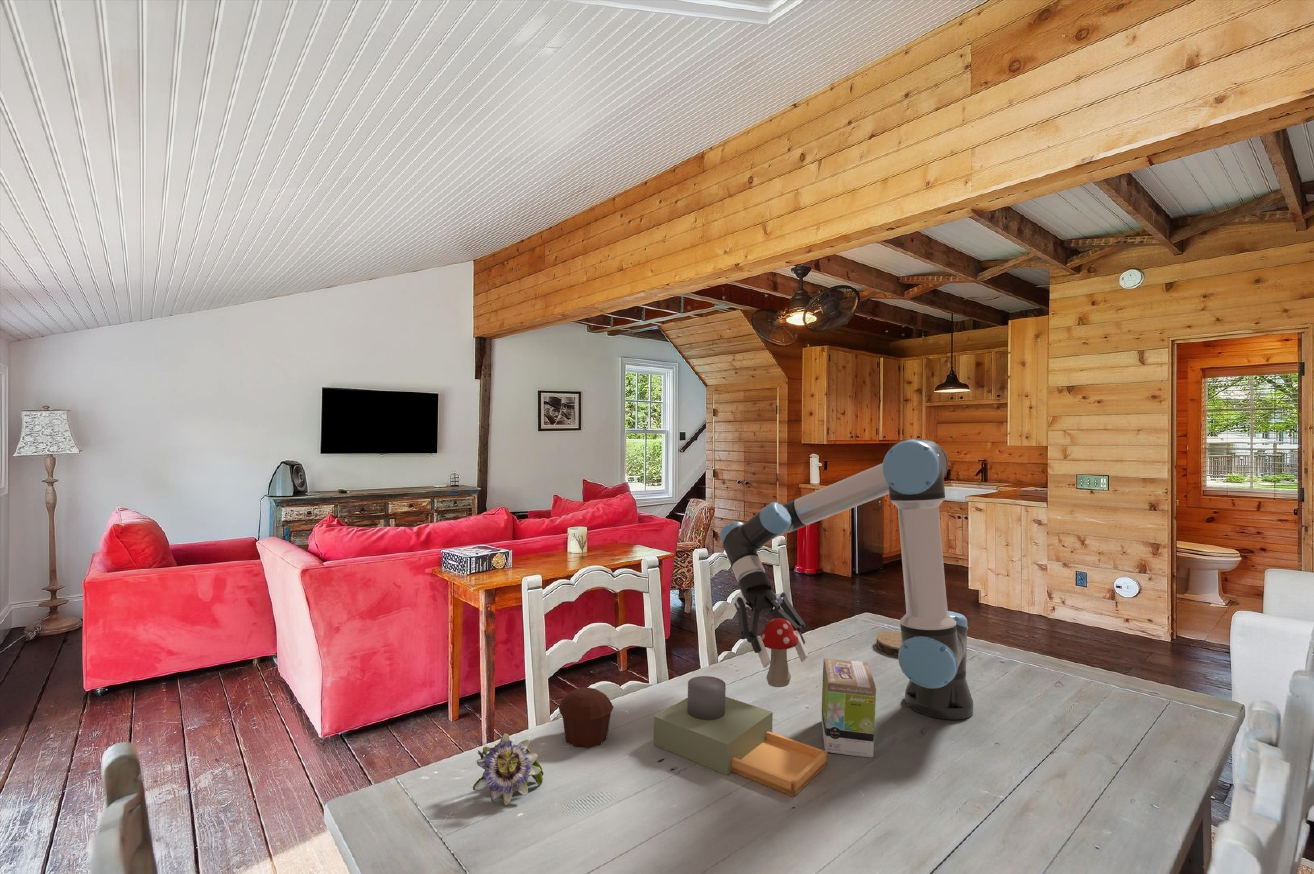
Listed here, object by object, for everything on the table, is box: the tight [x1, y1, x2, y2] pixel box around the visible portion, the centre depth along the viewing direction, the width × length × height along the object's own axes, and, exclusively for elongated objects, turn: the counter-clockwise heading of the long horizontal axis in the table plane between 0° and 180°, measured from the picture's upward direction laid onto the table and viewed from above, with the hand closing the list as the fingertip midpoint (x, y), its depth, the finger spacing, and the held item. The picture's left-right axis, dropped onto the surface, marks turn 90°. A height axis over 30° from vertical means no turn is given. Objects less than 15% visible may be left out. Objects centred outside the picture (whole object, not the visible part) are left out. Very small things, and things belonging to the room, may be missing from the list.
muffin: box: [558, 687, 615, 749], centre depth 136 cm, size 12×11×10 cm
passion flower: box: [472, 732, 545, 807], centre depth 117 cm, size 11×11×12 cm
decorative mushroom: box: [760, 617, 798, 688], centre depth 150 cm, size 10×9×15 cm
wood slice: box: [875, 631, 902, 658], centre depth 194 cm, size 16×16×3 cm
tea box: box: [821, 657, 877, 758], centre depth 138 cm, size 15×10×15 cm, turn 168°
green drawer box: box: [653, 675, 829, 798], centre depth 131 cm, size 31×18×12 cm, turn 52°
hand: (786, 661), depth 147 cm, fingers closed on decorative mushroom, 9 cm apart
